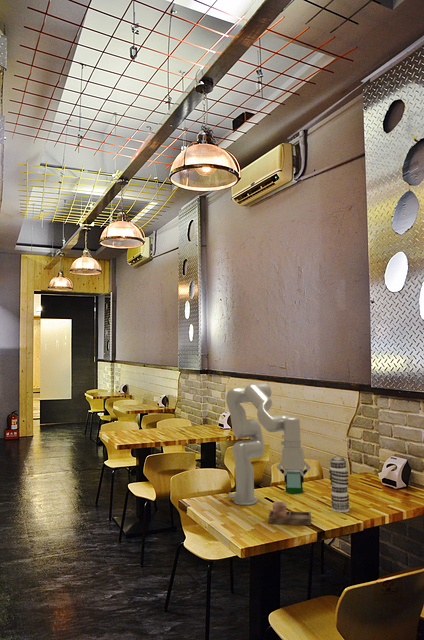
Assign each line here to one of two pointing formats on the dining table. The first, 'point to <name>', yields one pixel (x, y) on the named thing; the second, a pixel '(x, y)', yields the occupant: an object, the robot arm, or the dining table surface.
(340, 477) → the decorative candle
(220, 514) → the dining table surface
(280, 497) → the dining table surface
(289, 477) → the teal cube
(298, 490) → the milk carton
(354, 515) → the dining table surface
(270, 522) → the walnut tray
